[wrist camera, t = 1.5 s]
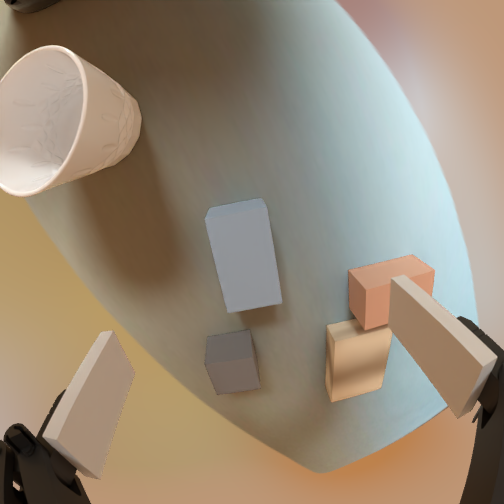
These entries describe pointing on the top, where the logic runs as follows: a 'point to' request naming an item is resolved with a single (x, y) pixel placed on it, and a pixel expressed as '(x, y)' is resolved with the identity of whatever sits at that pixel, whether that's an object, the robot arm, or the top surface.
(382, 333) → the maple block
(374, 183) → the top surface
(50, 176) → the white cup
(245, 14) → the top surface
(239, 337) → the charcoal block
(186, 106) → the top surface
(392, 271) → the terracotta block
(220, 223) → the blue block
